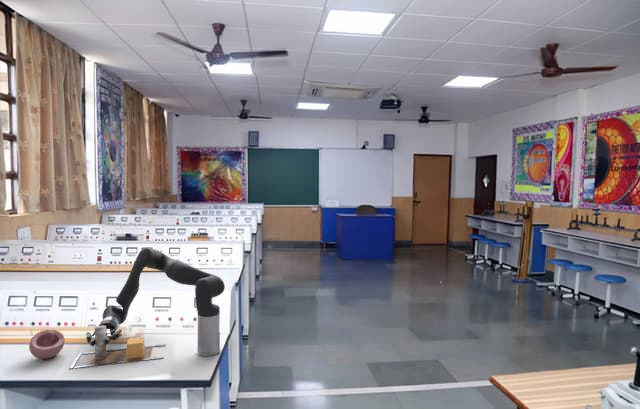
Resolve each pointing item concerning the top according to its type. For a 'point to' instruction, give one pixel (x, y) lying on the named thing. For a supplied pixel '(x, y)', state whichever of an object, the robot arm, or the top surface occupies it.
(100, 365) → the track
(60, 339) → the pink round bowl
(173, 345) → the top surface
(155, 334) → the top surface
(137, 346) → the cube
